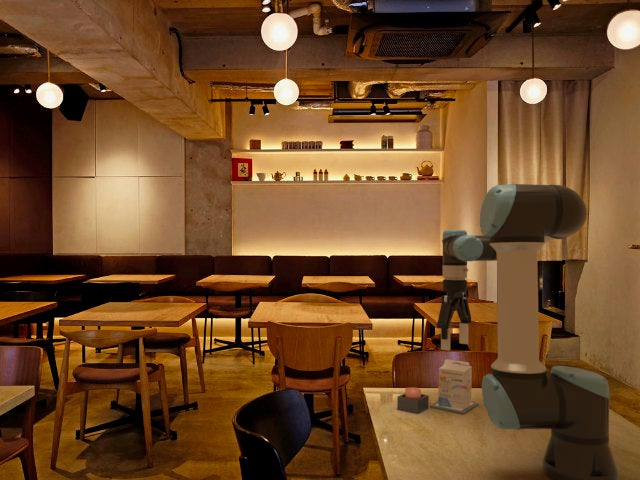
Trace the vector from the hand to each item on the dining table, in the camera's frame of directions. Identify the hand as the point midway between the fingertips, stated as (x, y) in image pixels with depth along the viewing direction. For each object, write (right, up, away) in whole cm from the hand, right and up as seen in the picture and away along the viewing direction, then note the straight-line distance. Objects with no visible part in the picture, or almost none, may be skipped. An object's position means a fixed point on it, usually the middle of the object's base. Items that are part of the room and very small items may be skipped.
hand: (455, 346), depth 169 cm
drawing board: (0, -19, 0) cm, 19 cm away
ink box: (0, -18, 0) cm, 18 cm away
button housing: (-14, -19, -2) cm, 23 cm away
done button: (-14, -17, -2) cm, 22 cm away
